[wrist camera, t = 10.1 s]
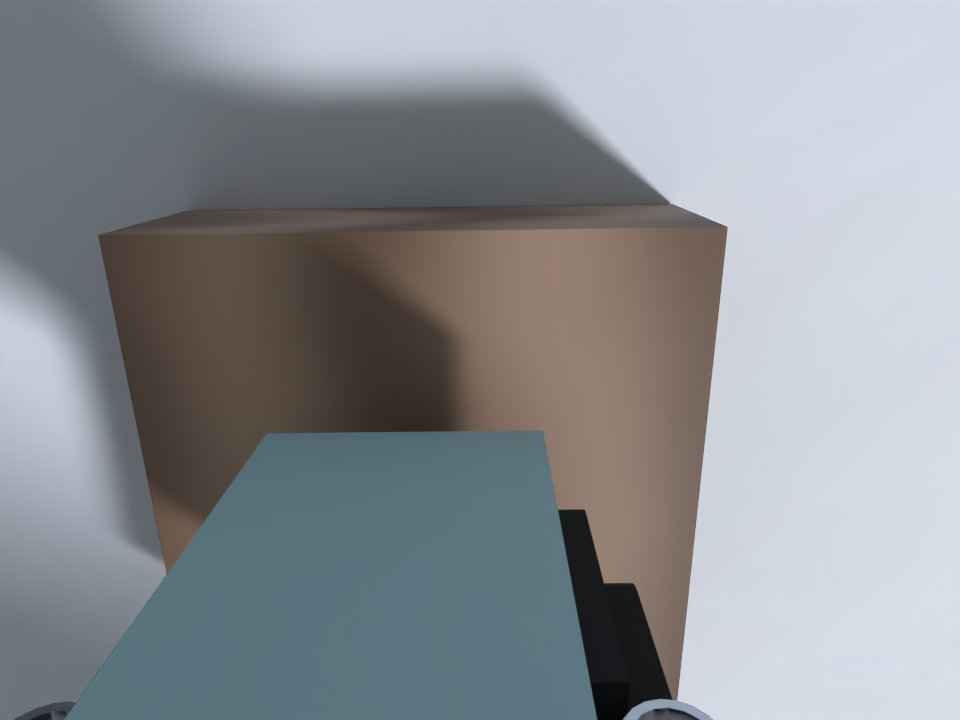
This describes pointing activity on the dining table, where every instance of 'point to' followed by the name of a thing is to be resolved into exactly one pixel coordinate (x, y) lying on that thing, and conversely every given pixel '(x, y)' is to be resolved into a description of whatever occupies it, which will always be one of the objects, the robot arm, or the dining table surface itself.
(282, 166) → the dining table surface
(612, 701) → the robot arm
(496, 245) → the walnut plinth
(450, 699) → the teal block
